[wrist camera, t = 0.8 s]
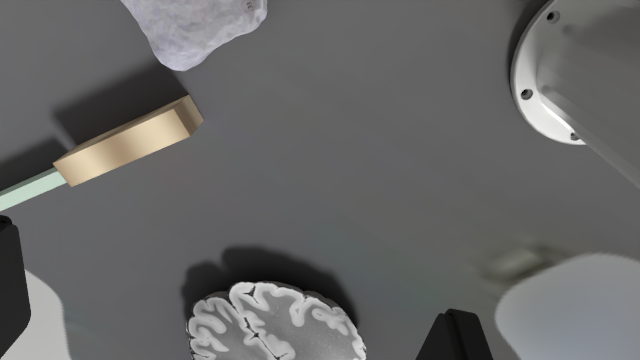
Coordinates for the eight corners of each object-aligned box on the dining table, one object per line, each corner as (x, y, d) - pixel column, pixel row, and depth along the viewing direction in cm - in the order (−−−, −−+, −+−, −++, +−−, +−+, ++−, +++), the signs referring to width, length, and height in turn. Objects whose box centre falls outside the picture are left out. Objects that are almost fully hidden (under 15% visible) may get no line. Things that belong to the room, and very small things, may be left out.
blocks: (35, -162, 28) (-5, -175, 24) (204, 120, 36) (190, 136, 33) (-91, -73, 31) (-140, -75, 27) (93, 168, 39) (71, 187, 36)
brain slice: (307, 235, 42) (304, 254, 39) (383, 345, 48) (385, 367, 46) (154, 300, 47) (142, 321, 45) (241, 390, 54) (235, 413, 51)
